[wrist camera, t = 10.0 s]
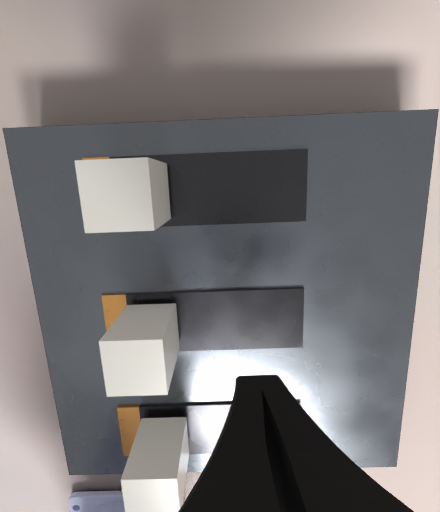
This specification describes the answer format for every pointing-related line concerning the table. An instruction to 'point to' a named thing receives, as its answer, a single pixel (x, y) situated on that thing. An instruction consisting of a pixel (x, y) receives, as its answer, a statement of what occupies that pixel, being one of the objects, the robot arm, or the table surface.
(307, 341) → the panel
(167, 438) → the breaker
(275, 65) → the table surface
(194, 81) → the table surface
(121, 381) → the block
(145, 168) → the block
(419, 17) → the table surface
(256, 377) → the robot arm
